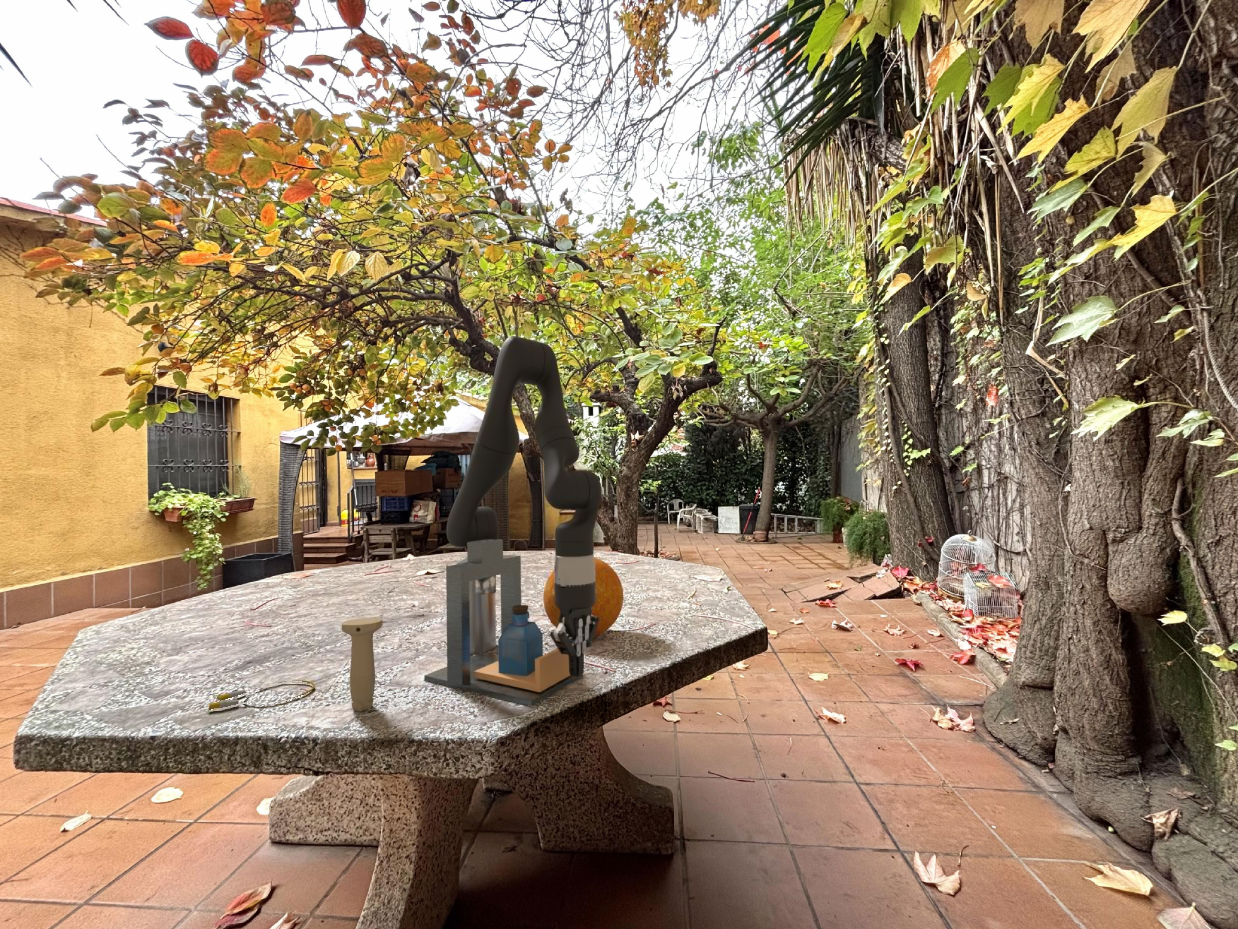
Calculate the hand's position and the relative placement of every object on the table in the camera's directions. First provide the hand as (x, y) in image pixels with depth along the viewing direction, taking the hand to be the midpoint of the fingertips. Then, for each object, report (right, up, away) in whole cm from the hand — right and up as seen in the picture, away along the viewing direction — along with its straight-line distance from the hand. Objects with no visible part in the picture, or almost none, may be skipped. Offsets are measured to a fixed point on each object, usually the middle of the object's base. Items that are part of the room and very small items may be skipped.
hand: (576, 675), depth 97 cm
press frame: (-15, -4, +9) cm, 18 cm away
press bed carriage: (-11, -3, +6) cm, 13 cm away
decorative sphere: (-1, -5, +36) cm, 36 cm away
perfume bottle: (-11, -2, +7) cm, 13 cm away
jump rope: (-58, -6, +2) cm, 58 cm away
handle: (-37, -4, -4) cm, 37 cm away
